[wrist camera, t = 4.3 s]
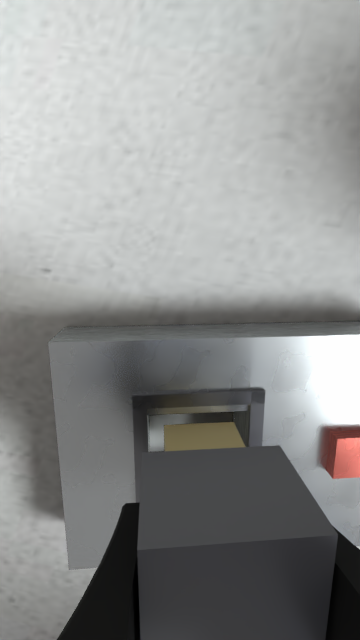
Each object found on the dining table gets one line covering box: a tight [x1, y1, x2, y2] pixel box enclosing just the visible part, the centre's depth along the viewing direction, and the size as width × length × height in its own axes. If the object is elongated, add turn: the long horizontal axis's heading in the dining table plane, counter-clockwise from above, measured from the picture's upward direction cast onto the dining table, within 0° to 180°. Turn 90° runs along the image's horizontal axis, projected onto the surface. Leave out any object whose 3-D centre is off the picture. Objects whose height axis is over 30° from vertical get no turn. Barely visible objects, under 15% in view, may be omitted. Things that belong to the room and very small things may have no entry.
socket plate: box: [48, 321, 360, 570], centre depth 15 cm, size 11×16×3 cm
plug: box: [137, 422, 338, 640], centre depth 11 cm, size 5×5×6 cm
